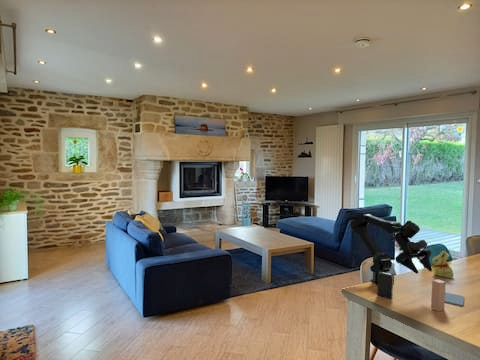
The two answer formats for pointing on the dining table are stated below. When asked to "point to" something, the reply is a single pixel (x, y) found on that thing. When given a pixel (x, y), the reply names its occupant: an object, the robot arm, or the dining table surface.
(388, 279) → the battery charger
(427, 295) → the dining table surface
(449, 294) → the mat
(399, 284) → the dining table surface
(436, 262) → the chocolate bunny
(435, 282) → the block
